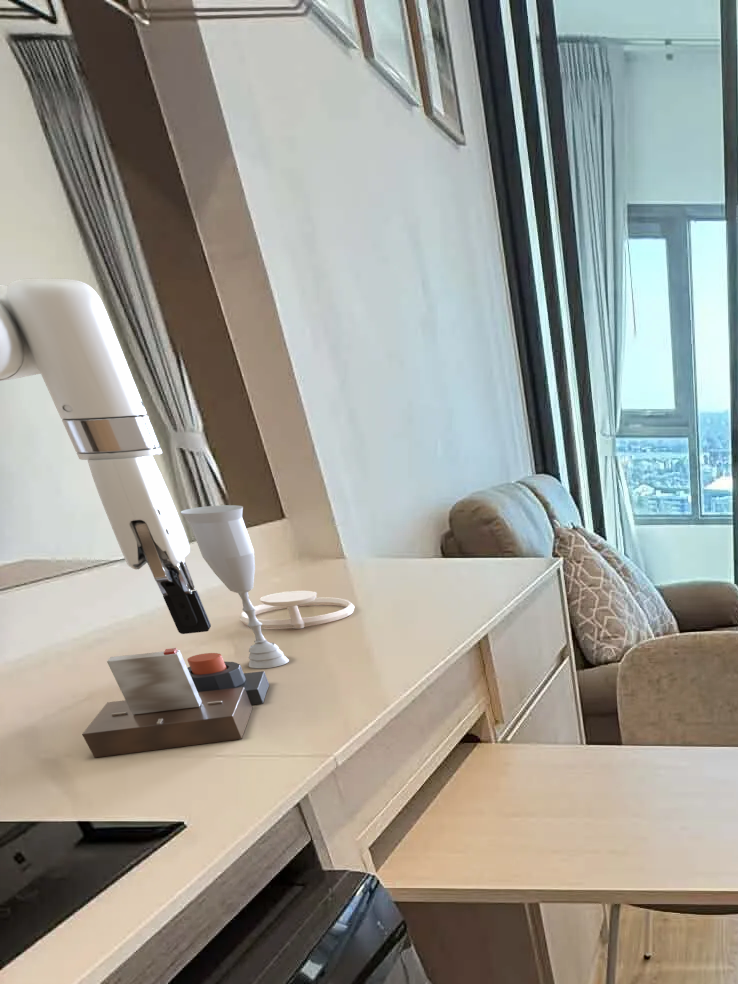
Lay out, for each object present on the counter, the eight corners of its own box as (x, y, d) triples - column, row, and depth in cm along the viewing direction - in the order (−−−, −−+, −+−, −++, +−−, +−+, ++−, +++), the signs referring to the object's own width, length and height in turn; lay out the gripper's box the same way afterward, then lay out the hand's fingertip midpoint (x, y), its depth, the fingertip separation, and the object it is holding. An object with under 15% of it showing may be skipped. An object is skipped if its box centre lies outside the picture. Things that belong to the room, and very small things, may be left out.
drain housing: (169, 714, 98) (155, 683, 96) (181, 694, 104) (168, 665, 102) (263, 703, 101) (251, 673, 99) (269, 684, 107) (258, 655, 104)
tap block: (94, 758, 88) (80, 732, 86) (118, 724, 96) (106, 700, 94) (241, 739, 91) (231, 714, 90) (252, 708, 99) (243, 685, 98)
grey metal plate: (132, 714, 90) (105, 658, 87) (135, 709, 92) (109, 654, 88) (199, 706, 92) (175, 651, 88) (202, 702, 93) (178, 647, 90)
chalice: (281, 670, 112) (224, 513, 100) (230, 671, 112) (168, 514, 100) (305, 655, 117) (253, 504, 106) (256, 655, 117) (200, 505, 106)
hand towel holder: (346, 572, 141) (349, 596, 126) (354, 600, 144) (358, 627, 129) (234, 581, 136) (223, 607, 121) (245, 611, 139) (236, 640, 124)
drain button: (191, 678, 99) (184, 662, 98) (196, 670, 101) (189, 654, 100) (225, 674, 100) (219, 659, 98) (229, 666, 102) (223, 651, 101)
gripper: (91, 437, 91) (171, 620, 102) (51, 447, 80) (146, 651, 91) (168, 432, 93) (239, 613, 104) (140, 442, 82) (223, 643, 93)
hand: (195, 630), depth 98 cm, fingers closed
